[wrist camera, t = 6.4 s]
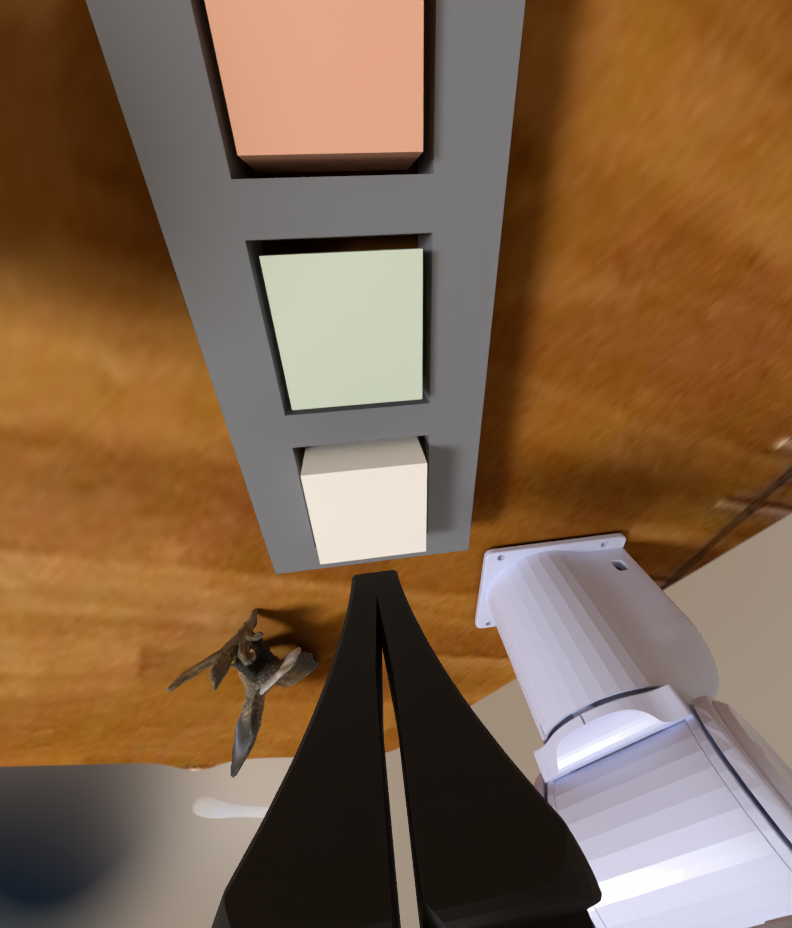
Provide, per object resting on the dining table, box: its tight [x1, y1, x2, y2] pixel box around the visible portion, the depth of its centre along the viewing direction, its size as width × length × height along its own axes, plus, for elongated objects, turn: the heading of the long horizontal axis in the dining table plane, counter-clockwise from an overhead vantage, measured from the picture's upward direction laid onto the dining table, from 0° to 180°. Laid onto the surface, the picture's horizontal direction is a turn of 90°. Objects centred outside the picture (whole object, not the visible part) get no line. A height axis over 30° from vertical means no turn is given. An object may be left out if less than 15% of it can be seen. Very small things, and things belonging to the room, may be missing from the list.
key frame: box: [86, 0, 525, 574], centre depth 13 cm, size 10×23×2 cm, turn 2°
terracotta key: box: [204, 0, 424, 173], centre depth 9 cm, size 5×5×3 cm
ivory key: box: [301, 436, 427, 565], centre depth 16 cm, size 5×5×3 cm
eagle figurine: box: [167, 609, 320, 777], centre depth 22 cm, size 8×7×9 cm
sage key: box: [259, 248, 423, 410], centre depth 13 cm, size 5×5×3 cm
